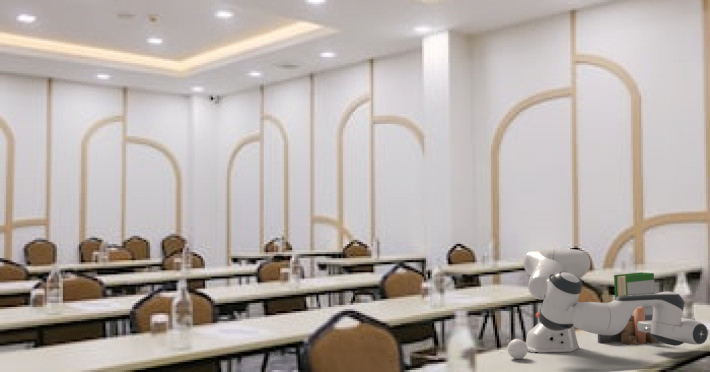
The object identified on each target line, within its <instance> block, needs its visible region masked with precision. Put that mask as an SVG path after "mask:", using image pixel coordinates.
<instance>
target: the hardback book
mask: <svg viewBox="0 0 710 372" xmlns="http://www.w3.org/2000/svg"><path fill="white" fill-rule="evenodd" d="M613 282H614V299H615V298H616V297H617V296H621V295H630V294H650V293H656V291H655V274H654V273H653V272H643V271H642V272H640V271H639V272H632V273H631V272H629V273H623V274H622V273H621V274H613ZM631 316H632V315H631Z"/></svg>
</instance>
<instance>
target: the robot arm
mask: <svg viewBox="0 0 710 372" xmlns="http://www.w3.org/2000/svg"><path fill="white" fill-rule="evenodd" d="M523 267H524V270H525V272H526V273H527V275H529V280H528V284H527V287H528V292H529V293H530V295H531V296H533V298H535V299H537V300H543V302H542V305H541V308H540V310H539V312H536V313H535V317H536V318H538V321H539V322H538V323H537V324H536V325H535V326H534V327H532V328H531V329H530V330H528V332H527V334H526V339H525V343H526V345H527V348H528V351H527V352H529V351H530V352H531V353H535V352H538V353H561V352H562V353H563V352H565V353H566V352H574V351H575V350H578V349H579V348H580V345H579V343H578V342H579V341H578V339H577V335H576V329H578V330H581V331H584V332H587V333H591V334H595V335H598V334H600V335H616V334H618V333H620V332H621V331H622V330H623V329H624V328H625V327H626V325H627V324H628V321H629V319H630V317H631V315H632V313H633V312H634V310H635V309H636V308H637V307H638V306H644V305H653V317H652V321H639V322H638V323H637V327H638V331H641V332H646V333H650V334H651V336H652V337H653V338H654V339H655V340H656V341H658V343H661V344H665V345H667V346H668V345H669V346H676V347H677V346H681V345H683V344H689V345H702V344H704V343H705V342H706V341H707V340H708V336H709V330H708V328H707V326H706V324H704V323H702V322H701V321H698V320H696V318H695V317H690V316H689V317H688V316H687V317H686V316H685V317H683V312H684V308H685V305H686V304H685V303H686V302H685V300H684V298H682V297H683V296H682V295H680V293H677V292H674V291H668V290H667V291H660V292H655V293H650V294H630V295H621V296H617V297H616V298H615V297H614V299H613V300H611V301H610V302H598V301H583V302H582V301H581V302H580V301H578V300H579V297H580V294H581V293H582V290H583V282H582V280H581V278H583V277H584V276H585V275H587V273H588V272H589V271H590V267H591V260H590V257H589V255H588V254H587V253H586V251H584V250H580V249H576V248H575V249H573V248H564V249H563V248H561V249H559V248H557V249H555V248H553V249H536V250H532V251H531V250H530V251H528V252H527V253H526V254H525V256H524V259H523Z"/></svg>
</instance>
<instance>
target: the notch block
mask: <svg viewBox="0 0 710 372" xmlns="http://www.w3.org/2000/svg"><path fill="white" fill-rule="evenodd" d="M647 321H648V320H647ZM620 343H623V344H627V345H630V346H631V345H633V346H634V345H637V344H638V343H637V338H636V337H635V321H631V322H628V324H627V325H626V327H625V328H624V329H623V330H622V331H621V342H620ZM646 343H650V344H659V342H658V341H656V340H655V339H654V338H653V337H652V336H651V334H650V333H646Z"/></svg>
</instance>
